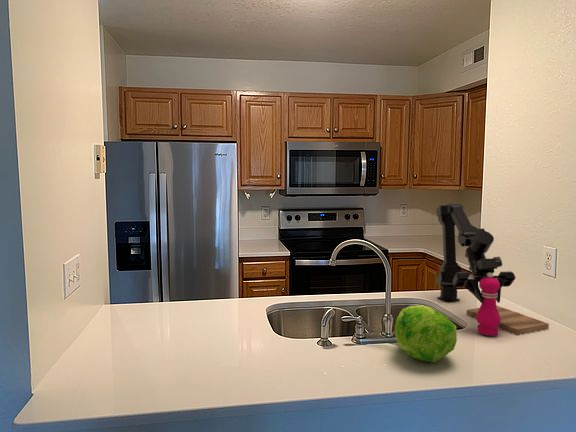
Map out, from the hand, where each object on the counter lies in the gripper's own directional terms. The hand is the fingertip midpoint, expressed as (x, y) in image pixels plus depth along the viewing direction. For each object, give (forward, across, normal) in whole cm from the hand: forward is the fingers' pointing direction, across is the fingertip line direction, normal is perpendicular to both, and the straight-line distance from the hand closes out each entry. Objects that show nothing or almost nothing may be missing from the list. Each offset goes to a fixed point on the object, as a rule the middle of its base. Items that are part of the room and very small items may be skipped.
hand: (490, 302), depth 135 cm
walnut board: (0, +11, +17) cm, 20 cm away
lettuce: (+19, -26, -3) cm, 32 cm away
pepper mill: (+7, 0, +8) cm, 11 cm away
